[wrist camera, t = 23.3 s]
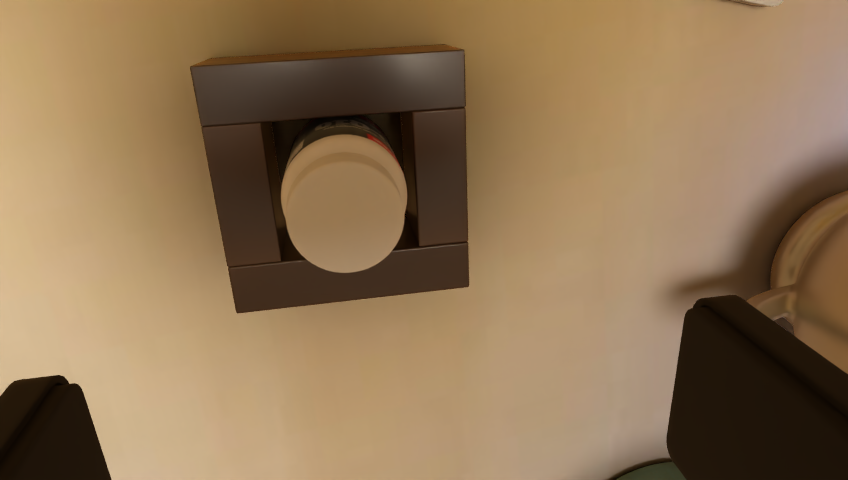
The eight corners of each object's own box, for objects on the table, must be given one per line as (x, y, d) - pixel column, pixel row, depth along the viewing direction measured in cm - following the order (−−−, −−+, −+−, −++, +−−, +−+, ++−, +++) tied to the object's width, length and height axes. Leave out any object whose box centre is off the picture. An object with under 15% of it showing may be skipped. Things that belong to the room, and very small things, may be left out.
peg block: (209, 58, 25) (189, 66, 21) (445, 44, 26) (464, 49, 23) (247, 275, 29) (235, 314, 25) (451, 253, 30) (469, 287, 26)
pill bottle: (406, 130, 27) (438, 176, 20) (372, 221, 29) (390, 297, 21) (307, 94, 26) (300, 128, 18) (276, 191, 27) (258, 261, 20)
